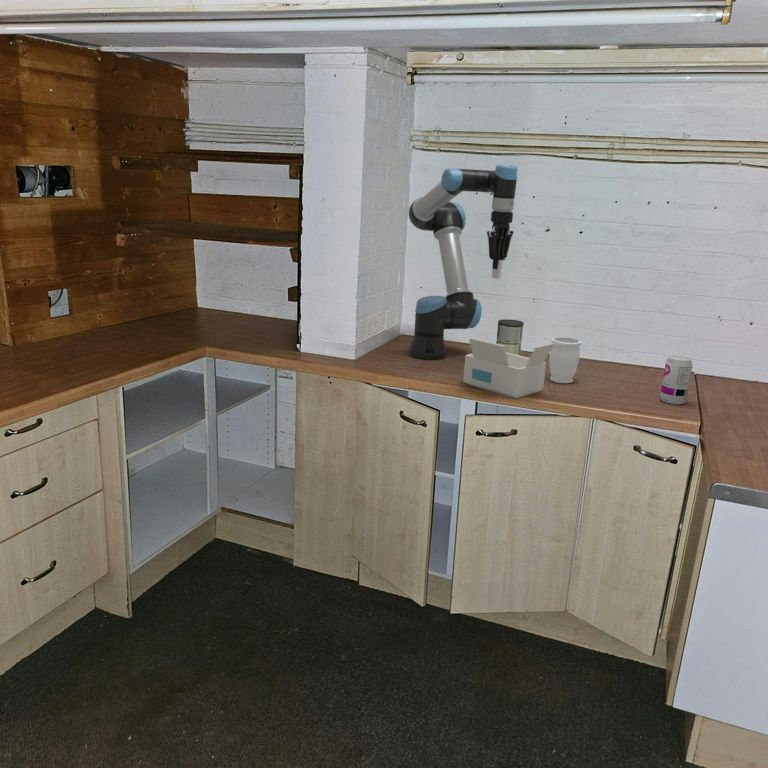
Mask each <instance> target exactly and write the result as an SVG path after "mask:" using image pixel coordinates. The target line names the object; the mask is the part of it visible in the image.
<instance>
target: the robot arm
mask: <svg viewBox="0 0 768 768" xmlns="http://www.w3.org/2000/svg"><path fill="white" fill-rule="evenodd" d="M517 175H518V167H517V166H516V165H514V164H513V165H512V164H511V165H510V164H497V165H495V170H487V169H486V170H484V169H470V168H469V169H468V168H467V169H466V168H457V167H453V168H452V167H451V168H449V167H448V168H445V170H443V172H442V175H441V180H440V182H438V183H437V185H435V186H434V187H433V188H432V189H431V190H429V191H428V192H427V193H426V194H425V195H423V197H418V198H416V199H415V200H414V201H413V202H411V204H410V206H409V208H408V218H409V221H410V223H411V224H412V226H413V227H415V228H416V229H418V230H420V231H428V232H429V231H431V232H433V237H434V239H436V240H437V241H438V245H439V250H440V256H441V257H440V258H441V263H442V270H443V275H444V281H445V287H446V288H445V289H446V293H447V294H446V295H445V296H444V295H429V296H428V295H427V296H422V297H420V298H419V299H417V301H416V304H415V305H416V306H415V310H414V311H415V314H414V315H415V317H414V331H413V332H414V335H413V337H412V340H411V343H410V346H409V348H408V356H410V357H413V358H415V359H419V360H428V361H429V360H433V361H435V360H437V361H438V360H444V359H446V358H447V355H448V352H447V348H446V343H445V336H444V335H445V330H462V329H463V330H467V329H474V328H476V327H477V326H478V324H479V323H480V321H481V317H482V312H483V311H482V304H481V302H480V300H479V299H476V298H474V293H473V292H472V291H471V290H470V289H469V285H468V281H467V274H466V267H465V264H464V263H465V262H464V261H465V260H464V258H463V257H464V256H463V250H462V246H461V239H460V235H462V233H463V230H464V229H465V226H466V222H465V221H466V218H467V217H466V213H465V211H464V208H463V206H462V205H461V204H460V203H458V202H451V200H454V199H455V198H456V197H457V196H458V195H459V194H461V193H462V192H475V193H477V192H478V193H487V194H488V193H492V201H491V209H492V211H491V213H490V214H491V215H490V221H491V223H492V226H491V229H490V230H488V231H486V235H487V238H488V239H487V240H488V257H489V258H490V260H492V272H491V278H492V279H497V280H498V279H499V280H500V279H501V276H502V275H501V273H502V268H503V261H505V260H506V258H507V257H508V253H509V247H510V244H511V240H512V237H513V235H514V231H513V230H511V229H510V228H511V227H510V224H511V223H513V218H514V213H513V210H514V204H515V197H516V188H517V179H518V176H517Z"/></svg>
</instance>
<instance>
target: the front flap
mask: <svg viewBox="0 0 768 768" xmlns="http://www.w3.org/2000/svg"><path fill="white" fill-rule="evenodd" d="M468 340H469V344H470V348H471V352H472V353H473V357H474V358H477V359H480V360H484V361H488V362H492V363H496V364H500V365H503V366H507V367H508V366H509V363H508V358H507V354H506V349H505V346H504V345H500V344H496V343H495V342H491V341H486V340H483V339H478V338H474V337H469V338H468ZM472 353H471V354H472Z"/></svg>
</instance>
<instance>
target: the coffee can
mask: <svg viewBox="0 0 768 768" xmlns="http://www.w3.org/2000/svg"><path fill="white" fill-rule="evenodd" d="M524 325H525V322H524V321H521V320H517V319H508V318H505V319H504V318H503V319H499V320H497V331H496V341H495V342H496V344H500V345H504V346H505V349H506V352H507V353H512V354H516V355H520V356H521V351H522V350H521V349H522V343H523V342H522V339H523V333H524V331H523V329H524Z"/></svg>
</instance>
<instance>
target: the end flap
mask: <svg viewBox="0 0 768 768" xmlns="http://www.w3.org/2000/svg"><path fill="white" fill-rule="evenodd" d="M553 345H554V344H553V343H552V342H550V343H546V344H542V345H537V346H535V348H534V350H533V351H532V353H531V355H530V356H529V358H530V359H529V361H528V362H527V364H526V366H525V367H526V368H528V367H532V366H536V365H540V364H543V363H544V362H546V359H547V358H548V356H549V355H550V350H551V348H552V347H553Z"/></svg>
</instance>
